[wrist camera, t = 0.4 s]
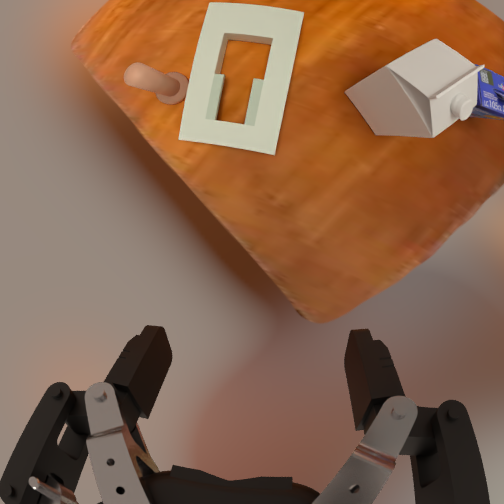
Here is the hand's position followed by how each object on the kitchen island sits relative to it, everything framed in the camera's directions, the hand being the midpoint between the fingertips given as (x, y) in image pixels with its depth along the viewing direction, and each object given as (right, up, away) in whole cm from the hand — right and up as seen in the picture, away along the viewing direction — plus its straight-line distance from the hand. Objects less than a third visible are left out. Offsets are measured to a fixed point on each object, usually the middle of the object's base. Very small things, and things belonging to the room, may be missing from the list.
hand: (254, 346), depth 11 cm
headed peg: (-11, +26, +19) cm, 34 cm away
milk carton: (+17, +24, +18) cm, 34 cm away
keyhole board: (-1, +27, +18) cm, 32 cm away
